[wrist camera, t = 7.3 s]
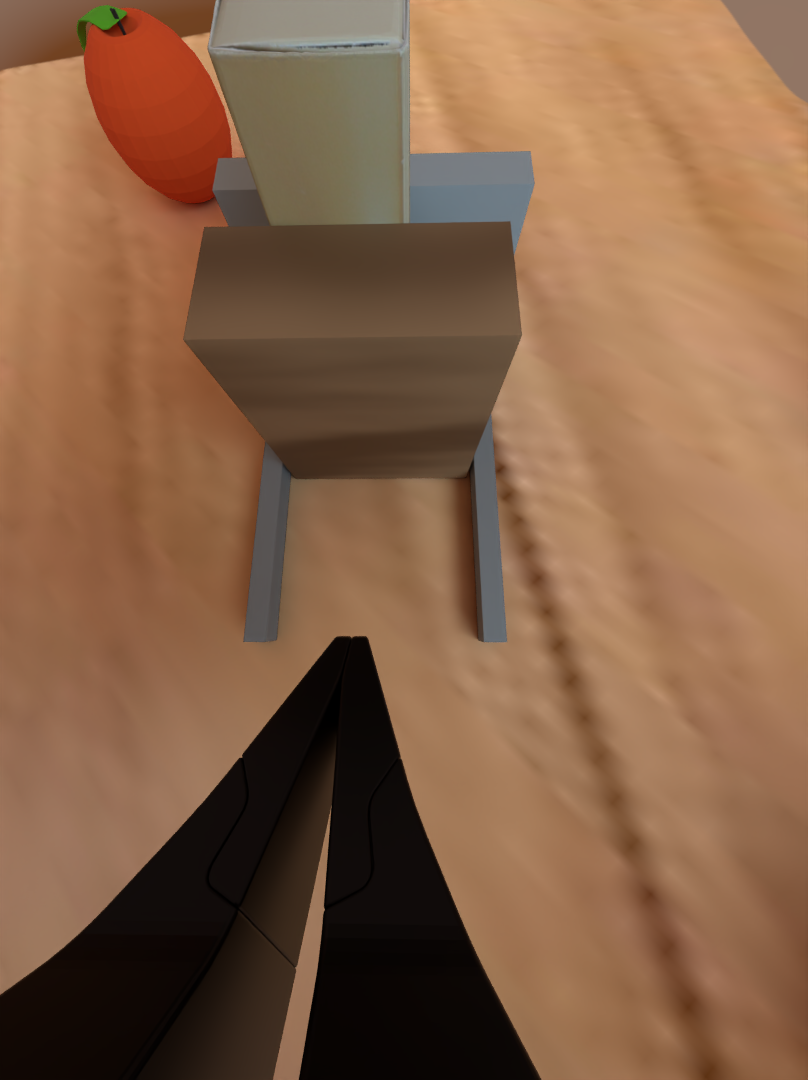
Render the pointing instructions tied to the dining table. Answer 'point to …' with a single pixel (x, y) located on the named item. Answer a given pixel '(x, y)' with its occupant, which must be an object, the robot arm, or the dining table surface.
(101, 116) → the red rounded fruit
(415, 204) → the backstop rail
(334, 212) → the skincare box
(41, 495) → the dining table surface
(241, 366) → the walnut block
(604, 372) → the dining table surface
